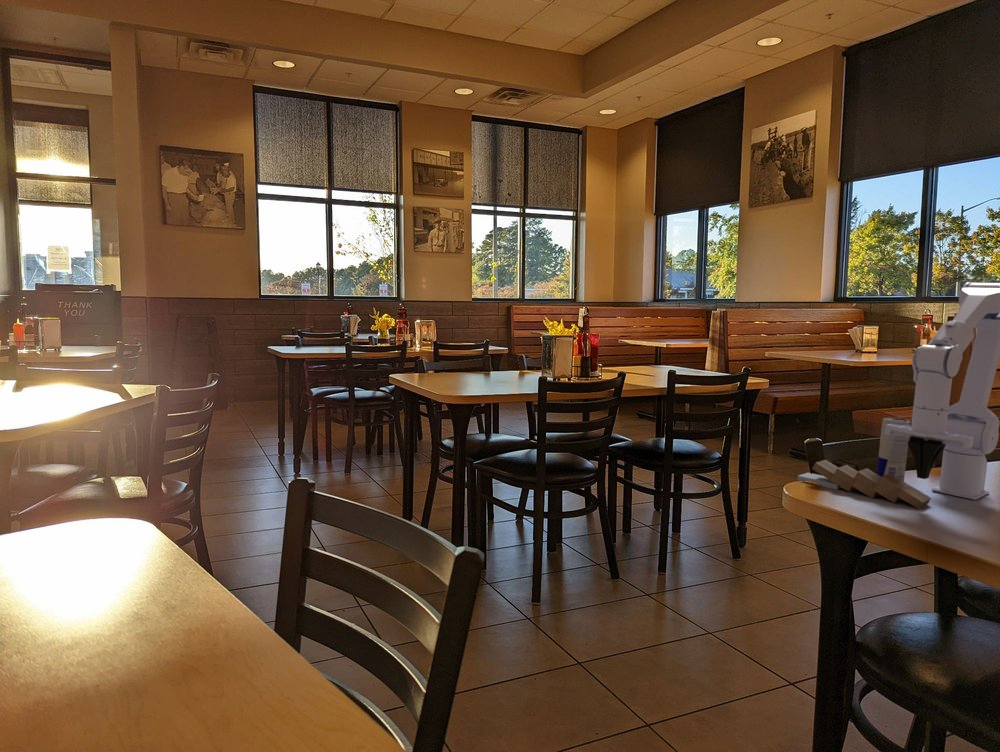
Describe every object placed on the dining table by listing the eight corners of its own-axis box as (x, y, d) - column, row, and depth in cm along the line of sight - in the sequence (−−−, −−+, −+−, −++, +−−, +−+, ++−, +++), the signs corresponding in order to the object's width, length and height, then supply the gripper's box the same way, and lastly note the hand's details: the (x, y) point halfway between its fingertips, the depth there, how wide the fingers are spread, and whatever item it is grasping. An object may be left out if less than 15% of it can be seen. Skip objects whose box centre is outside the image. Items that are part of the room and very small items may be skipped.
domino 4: (902, 498, 138) (863, 474, 143) (906, 492, 138) (866, 468, 143) (893, 502, 135) (853, 478, 140) (898, 496, 134) (857, 471, 140)
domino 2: (858, 488, 145) (822, 465, 150) (861, 482, 144) (825, 459, 149) (848, 491, 141) (812, 468, 147) (852, 485, 141) (815, 462, 146)
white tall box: (895, 486, 148) (903, 417, 146) (907, 493, 143) (915, 421, 141) (871, 484, 148) (878, 416, 146) (881, 491, 143) (889, 420, 141)
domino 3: (881, 494, 141) (843, 471, 146) (884, 487, 140) (846, 464, 146) (872, 498, 138) (833, 474, 143) (875, 491, 137) (837, 468, 143)
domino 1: (846, 488, 147) (807, 479, 153) (847, 481, 146) (807, 472, 153) (836, 492, 143) (797, 482, 150) (837, 484, 143) (797, 475, 149)
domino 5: (927, 504, 135) (885, 479, 140) (931, 498, 134) (889, 473, 139) (918, 509, 132) (876, 483, 137) (923, 502, 131) (880, 477, 136)
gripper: (881, 404, 134) (874, 472, 136) (968, 415, 123) (959, 489, 125) (896, 401, 139) (888, 467, 140) (980, 412, 128) (971, 484, 130)
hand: (922, 477), depth 133 cm, fingers closed
